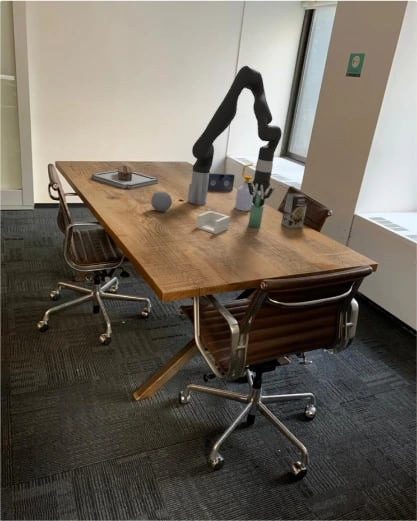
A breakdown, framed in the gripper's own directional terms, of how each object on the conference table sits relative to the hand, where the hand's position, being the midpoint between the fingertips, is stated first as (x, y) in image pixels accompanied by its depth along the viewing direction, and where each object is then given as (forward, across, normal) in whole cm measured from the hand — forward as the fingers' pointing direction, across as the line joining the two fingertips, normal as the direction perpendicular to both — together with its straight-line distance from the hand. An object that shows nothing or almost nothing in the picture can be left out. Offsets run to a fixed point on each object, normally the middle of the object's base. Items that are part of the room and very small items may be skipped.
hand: (257, 205), depth 214 cm
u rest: (+11, +12, +20) cm, 26 cm away
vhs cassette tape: (+11, +48, -45) cm, 66 cm away
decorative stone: (+11, +43, +19) cm, 48 cm away
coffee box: (+11, -13, -17) cm, 24 cm away
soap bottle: (+11, +18, -22) cm, 30 cm away
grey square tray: (+12, +93, -11) cm, 94 cm away
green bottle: (+11, 0, 0) cm, 11 cm away
